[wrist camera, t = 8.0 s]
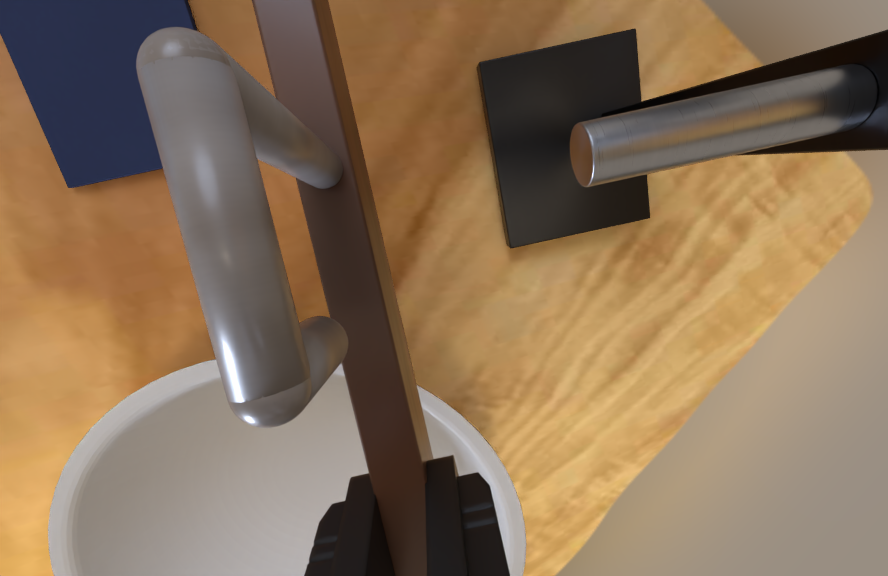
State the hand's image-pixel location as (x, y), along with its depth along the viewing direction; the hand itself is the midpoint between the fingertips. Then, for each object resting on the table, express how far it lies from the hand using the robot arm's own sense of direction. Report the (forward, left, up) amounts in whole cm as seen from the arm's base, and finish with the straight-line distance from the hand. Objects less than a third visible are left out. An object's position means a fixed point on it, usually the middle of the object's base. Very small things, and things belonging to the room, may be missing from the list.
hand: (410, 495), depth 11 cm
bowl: (+13, -10, -22) cm, 27 cm away
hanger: (-6, 0, -2) cm, 7 cm away
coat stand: (-7, +12, -22) cm, 26 cm away
